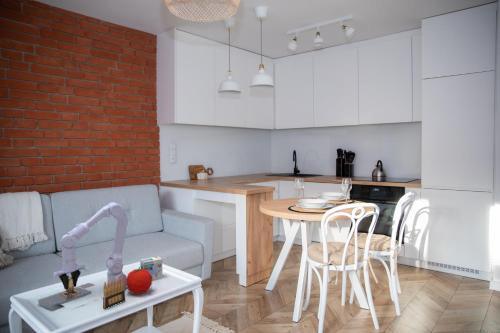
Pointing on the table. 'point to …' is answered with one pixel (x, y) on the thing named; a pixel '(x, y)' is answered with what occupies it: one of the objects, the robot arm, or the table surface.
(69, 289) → the brass peg
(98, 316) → the table surface
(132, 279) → the tomato
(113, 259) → the robot arm
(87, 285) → the gray square block
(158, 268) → the light bulb box
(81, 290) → the plate
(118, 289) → the ammunition clip
